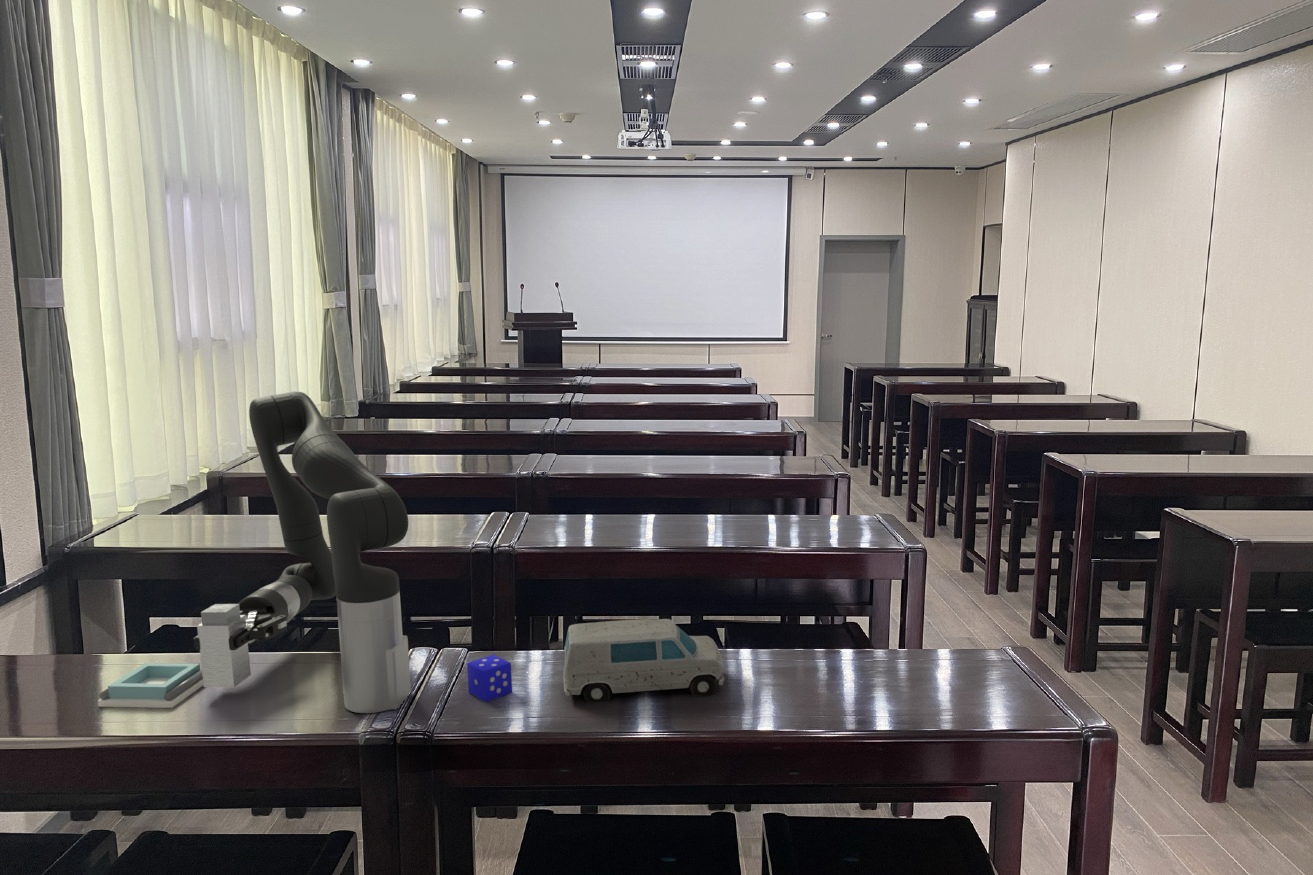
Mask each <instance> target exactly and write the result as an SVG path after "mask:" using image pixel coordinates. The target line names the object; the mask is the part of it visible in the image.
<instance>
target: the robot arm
mask: <svg viewBox="0 0 1313 875" xmlns="http://www.w3.org/2000/svg"><path fill="white" fill-rule="evenodd" d="M248 411H249V412H248V415H249V423H250V427H251V428H250V429H251V432H252V436H253V439H254V443H255V446H256V448H257V452H258V455H259V459H260V460H261V464H262V467H263V469H264V470H263V471H264V473H265V474H264V475H265V477H266V479H267V483H268V486H269V488H270V490H271V493H272V498H273V500H274V503H275V507H276V510H277V514H278V520H279V525H280V530H281V534H282V535H281V536H282V539H283V545H284V547H285V551H286V552H287V553H288V554H290V555H294V556H299V557H303V558H306V559H307V561H308V562H305V563H302V562H301V563H295V564H291V565H289V566H287V567H286V568H284V569H283V571H282V574H281V575H280V576H279V578H278V579H277V580H275V581H274V582H272V583H270V584H267V585H265V586H263V587H260V588H259V589H258V590H256V591H254V592H252V593H251V594H249V595H248V596H246V597H244V598H243V599H241V600H240V601H239V602H238V604H239V607H240V615H245V620H246V626H245V627H244V629H241V630H240V631H238V632H237V633H235V634H234V635H232V636H230V638H229V649H230V650H237V649H238V648H239V647H241V646H243V645H244V644H246V643H248V644H252V643H254V642H255V641H257V642H259V643H263V642H266V641H268V640H270V639H272V638H274V637H276V636H278V635H280V634H283V633H285V632H286V631H287V630H288V629H287V625H288V624H287V623H289V622H290V621H291V620H292V619H293V618H294V617H295V616H296V615H298V614H299V613H301V612H303V611H304V610H305V609H306V608H307V607H308V606H309V604H310V603H311V601H316V600H329V599H332V598H334V597H336V609H337V620H338V621H337V622H338V623H337V624H338V635H339V638H338V639H339V650H340V663H341V666H340V667H341V676H342V677H341V678H342V693H343V702H344V704H343V705H344V708H346V710H348V711H350V712H354V713H359V714H374V713H380V712H384V711H389V710H398V709H400V707H401V706H402V705H401V704H404V702H405V701H406V700H407V699H408V697H409V696H410V695H409V693H411V694H412V686H411V670H410V655H409V640H408V639H409V638H408V636H407V635H403V623H402V608H401V607H402V606H401V595H400V594H401V592H400V578H399V575H398V573H397V572H396V571H395V570H392V569H390V568H387V567H382V566H377V565H376V566H375V565H369V564H367V563H364V562H362V560H361V556H360V553H362V552H367V551H372V550H378V549H383V548H389V547H391V546H394V545H397V544H399V543H400V542H401V541H403V539H404V538H405V537H406V536H407V533H408V530H409V516H408V512H407V508H406V506H405V504H404V501H403V500H402V498H401V497H400V495H399V494H398V493H397V491H396V490H395V489H394V488H393V487H392V486H391V485H390V484H388V483H387V482H386V481H384V480H383V479H382V478H380V477H379V476H377V475H376V474H375V473H374V472H373V471H371V470H370V469H369V468H368V467H367V466H366V465H365V464H364V463H363V462H362V461H361V460H360V459H359V458H358V457H357V456H356V454H355V453H354V452H353V450H352V449H351V448H350V447H349V446H348V445H347V444H346V443H345V441H344V440H342V439H341V438H340V436H339V435H338V434H337V433H335V431H334V429H332V428H331V427H330V425H329V424H328V423H327V421H326V420H325V419H324V417H323V415H322V413H321V412H320V410H319V408H318V407H317V406H316V404H315V403H314V402H313V400H312V398H311V397H309V395H307V394H306V393H305V392H303V391H289V392H283V393H276V394H273V395H272V394H271V395H267V396H261V397H256V398H254V399H252V401H251V402H250V404H249V409H248ZM294 443H295V445H294V447H293V449H292V453H291V463H292V464H291V465H292V467H293V468H292V469H293V470H294V472H295V474H296V475H297V476H298V478H299V479H300V481H301V482H302V483H303V484H304V486H303V485H302V484H301V483H300V481H298V480H297V478H295V477H294V476H293V475H292V473H291V472H290V471H289V470H288V469H287V467H286V466H285V465H284V463H283V461H282V459H281V457H280V454H279V451H278V447H279V446H284V445H289V444H294ZM305 487H306V488H307V489H306V488H305ZM308 489H309V491H310V492H312V493H314V494H315V495H317V496H318V497H321V498H323V499H326V500H328V502H327V508H326V522H327V523H326V524H327V533H328V539H329V540H328V541H329V545H328V544H327V542H326V540H325V537H324V531H323V527H322V522H321V516H320V511H319V508H318V504H317V502H316V501H315V499H314V498H313V496H312V495H311V493H310V492H309V491H308ZM329 546H330V547H329ZM201 623H202V621H200V623H199V624H201ZM196 632H197V633H196V634H198V628H197V627H196ZM193 646H194V650H195V651H200V643H199V637H198V635H196V636H195V637H193ZM408 695H409V696H408ZM407 696H408V697H407ZM406 698H407V699H406ZM405 699H406V700H405ZM404 700H405V701H404ZM403 701H404V702H403ZM400 705H401V706H400ZM397 708H398V709H397Z"/></svg>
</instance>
